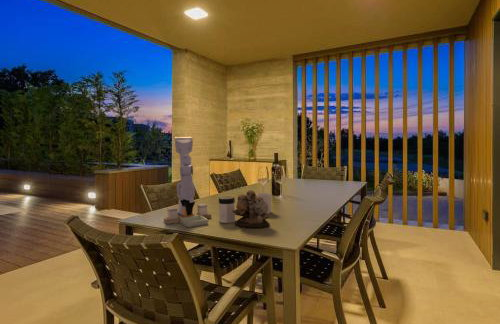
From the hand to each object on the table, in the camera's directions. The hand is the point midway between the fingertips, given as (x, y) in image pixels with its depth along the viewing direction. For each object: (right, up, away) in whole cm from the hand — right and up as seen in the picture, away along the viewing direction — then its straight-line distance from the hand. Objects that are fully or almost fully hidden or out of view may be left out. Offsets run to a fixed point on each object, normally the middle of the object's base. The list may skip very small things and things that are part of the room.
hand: (187, 214), depth 161 cm
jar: (+21, -3, -4) cm, 21 cm away
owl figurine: (+33, -3, -13) cm, 36 cm away
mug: (+38, -2, +14) cm, 41 cm away
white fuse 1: (-7, -3, -4) cm, 9 cm away
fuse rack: (0, -3, 0) cm, 3 cm away
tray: (+5, -3, -8) cm, 10 cm away
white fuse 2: (+7, -3, +4) cm, 9 cm away
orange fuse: (0, -3, 0) cm, 3 cm away
